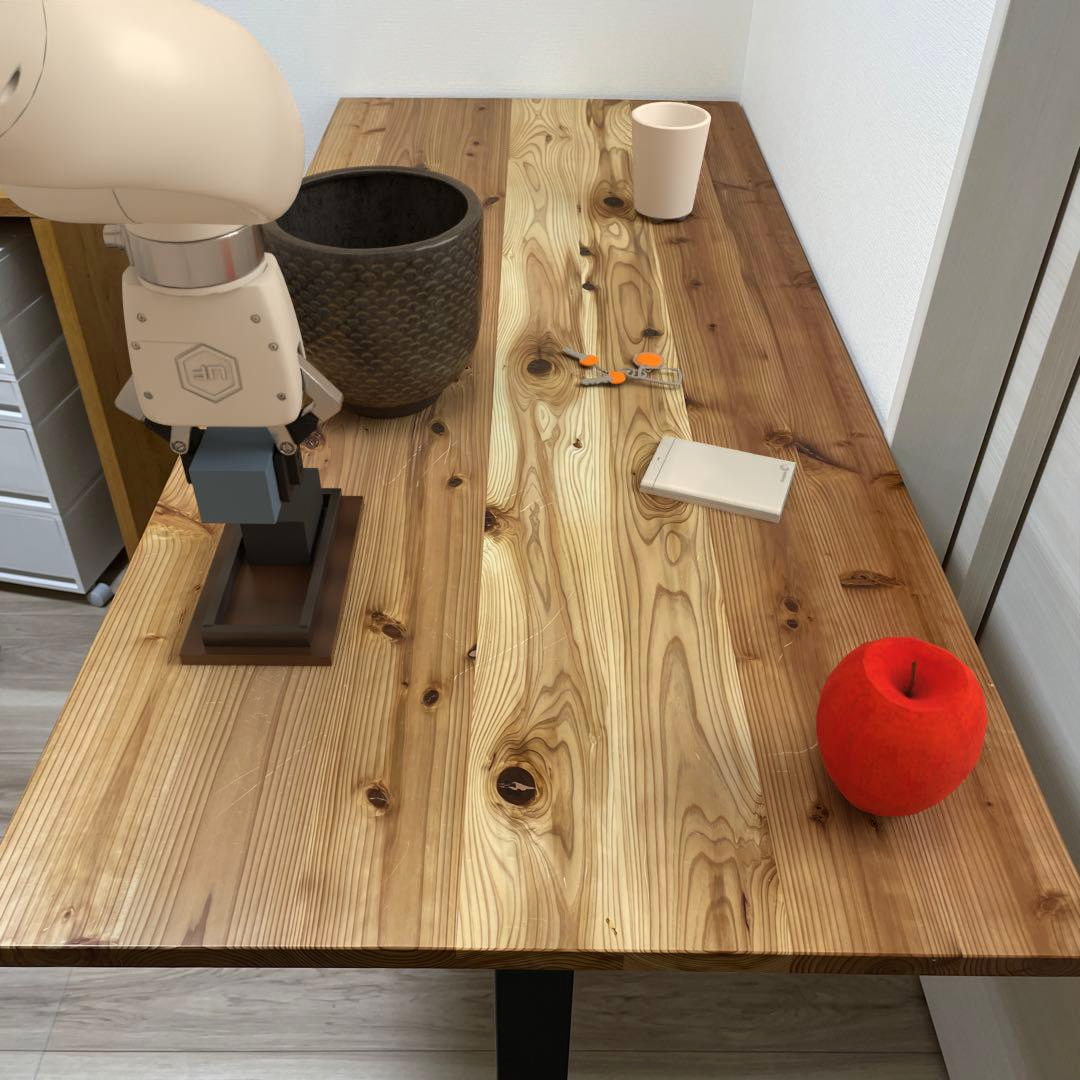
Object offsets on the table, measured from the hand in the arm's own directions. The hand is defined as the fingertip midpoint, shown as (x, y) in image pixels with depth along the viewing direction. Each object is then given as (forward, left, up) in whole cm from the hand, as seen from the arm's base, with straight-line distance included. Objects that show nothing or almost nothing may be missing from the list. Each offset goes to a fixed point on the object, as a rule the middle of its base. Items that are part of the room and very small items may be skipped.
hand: (248, 487), depth 74 cm
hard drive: (+32, -25, -13) cm, 42 cm away
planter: (+31, +10, -12) cm, 35 cm away
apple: (+5, -45, -12) cm, 47 cm away
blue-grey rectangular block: (0, 0, 0) cm, 0 cm away
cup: (+84, +2, -12) cm, 85 cm away
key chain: (+45, -9, -12) cm, 47 cm away
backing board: (+3, +2, -12) cm, 13 cm away
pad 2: (+7, +4, -11) cm, 14 cm away
